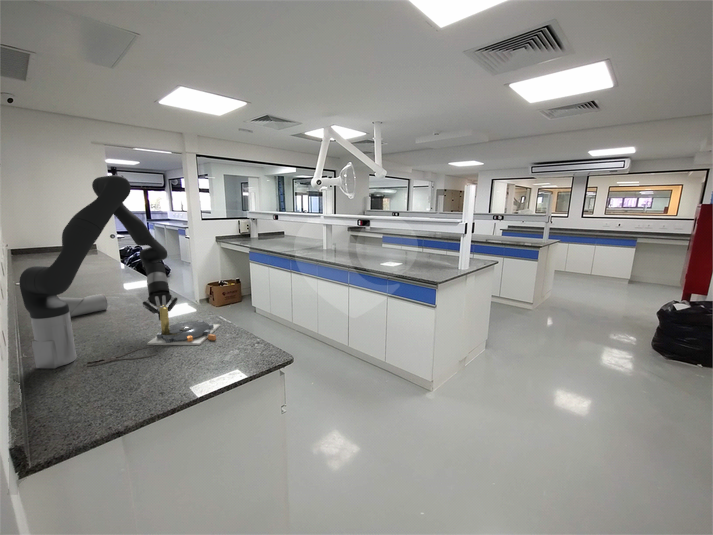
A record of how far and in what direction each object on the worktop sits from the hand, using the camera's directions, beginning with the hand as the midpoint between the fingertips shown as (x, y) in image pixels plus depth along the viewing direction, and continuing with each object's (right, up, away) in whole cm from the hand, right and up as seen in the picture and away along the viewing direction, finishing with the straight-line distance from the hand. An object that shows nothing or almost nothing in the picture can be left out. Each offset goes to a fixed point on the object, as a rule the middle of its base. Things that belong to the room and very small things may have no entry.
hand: (163, 320), depth 124 cm
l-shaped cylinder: (-60, -1, +28) cm, 66 cm away
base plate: (+8, -7, +5) cm, 12 cm away
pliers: (-4, -11, -16) cm, 20 cm away
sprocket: (+6, -6, +5) cm, 10 cm away
